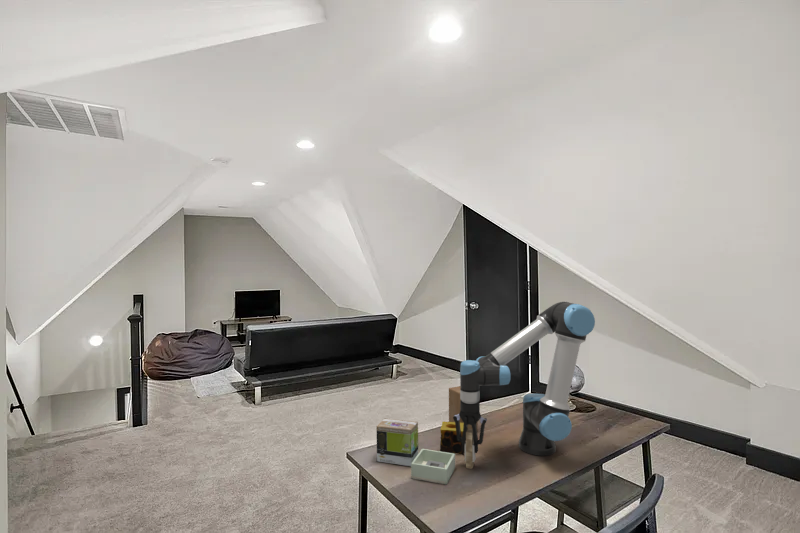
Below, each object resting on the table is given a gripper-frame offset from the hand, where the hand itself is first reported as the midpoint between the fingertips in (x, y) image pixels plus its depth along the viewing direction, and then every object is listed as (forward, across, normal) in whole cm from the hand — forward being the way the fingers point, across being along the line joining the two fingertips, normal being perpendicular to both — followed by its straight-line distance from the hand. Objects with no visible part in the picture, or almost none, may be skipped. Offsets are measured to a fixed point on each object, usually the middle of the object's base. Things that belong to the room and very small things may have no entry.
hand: (470, 459), depth 170 cm
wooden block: (+3, +10, -34) cm, 36 cm away
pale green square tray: (+2, +12, +10) cm, 16 cm away
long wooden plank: (+2, 0, 0) cm, 2 cm away
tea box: (+3, +29, +4) cm, 29 cm away
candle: (+3, +10, -13) cm, 17 cm away
